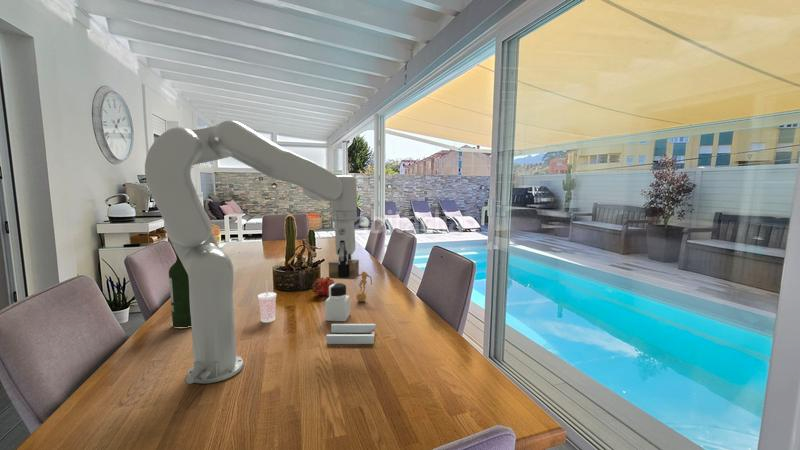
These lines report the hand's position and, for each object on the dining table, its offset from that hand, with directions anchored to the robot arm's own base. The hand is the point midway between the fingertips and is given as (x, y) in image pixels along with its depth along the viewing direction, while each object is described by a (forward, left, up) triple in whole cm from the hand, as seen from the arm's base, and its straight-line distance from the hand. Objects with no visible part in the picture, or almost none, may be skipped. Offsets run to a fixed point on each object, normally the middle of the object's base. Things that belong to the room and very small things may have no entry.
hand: (345, 274), depth 111 cm
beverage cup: (+12, +29, -20) cm, 37 cm away
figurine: (+32, -2, -20) cm, 38 cm away
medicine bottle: (+14, +5, -20) cm, 25 cm away
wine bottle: (+8, +55, -20) cm, 59 cm away
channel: (-2, -2, -19) cm, 20 cm away
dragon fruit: (+40, +15, -20) cm, 47 cm away
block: (0, 0, -1) cm, 1 cm away
